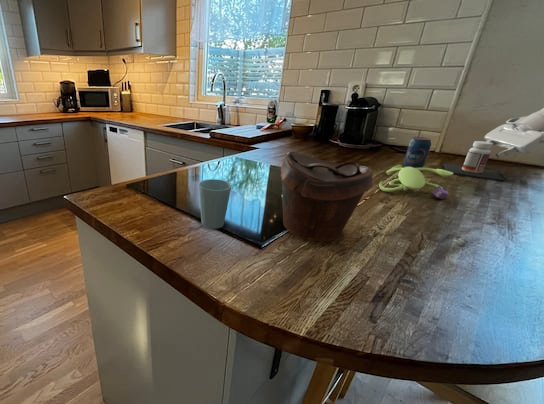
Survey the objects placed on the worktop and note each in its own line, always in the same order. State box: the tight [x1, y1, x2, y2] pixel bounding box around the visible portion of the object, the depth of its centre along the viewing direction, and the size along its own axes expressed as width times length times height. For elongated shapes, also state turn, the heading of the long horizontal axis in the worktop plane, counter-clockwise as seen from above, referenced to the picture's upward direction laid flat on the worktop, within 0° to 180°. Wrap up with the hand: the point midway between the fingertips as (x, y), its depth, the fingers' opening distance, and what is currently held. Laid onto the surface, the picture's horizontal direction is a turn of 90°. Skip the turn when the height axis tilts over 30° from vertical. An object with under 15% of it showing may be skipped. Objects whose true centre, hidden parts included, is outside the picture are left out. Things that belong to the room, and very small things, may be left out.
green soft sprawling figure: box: [378, 164, 455, 200], centre depth 99 cm, size 18×27×6 cm
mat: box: [443, 163, 505, 182], centre depth 117 cm, size 16×14×1 cm
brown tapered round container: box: [279, 150, 374, 242], centre depth 68 cm, size 18×20×18 cm
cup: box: [198, 178, 232, 230], centre depth 72 cm, size 8×8×10 cm
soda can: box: [402, 136, 432, 168], centre depth 120 cm, size 7×7×12 cm
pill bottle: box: [462, 140, 493, 173], centre depth 114 cm, size 6×6×11 cm
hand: (488, 153), depth 113 cm, fingers open, 8 cm apart
